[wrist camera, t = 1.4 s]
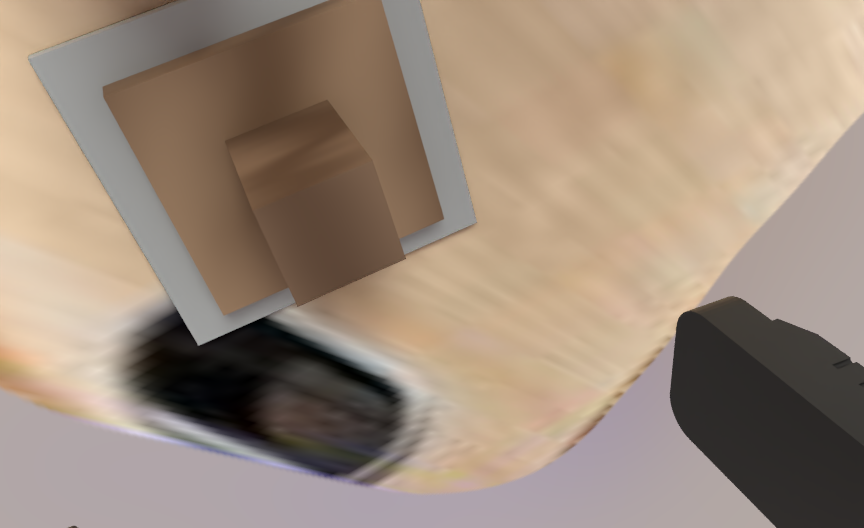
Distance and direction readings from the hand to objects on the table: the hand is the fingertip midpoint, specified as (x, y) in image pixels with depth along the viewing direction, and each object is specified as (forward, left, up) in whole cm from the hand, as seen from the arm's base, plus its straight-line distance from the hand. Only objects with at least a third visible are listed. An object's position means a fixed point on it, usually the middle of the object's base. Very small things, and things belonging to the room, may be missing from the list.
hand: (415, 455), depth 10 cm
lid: (-1, +5, -19) cm, 19 cm away
